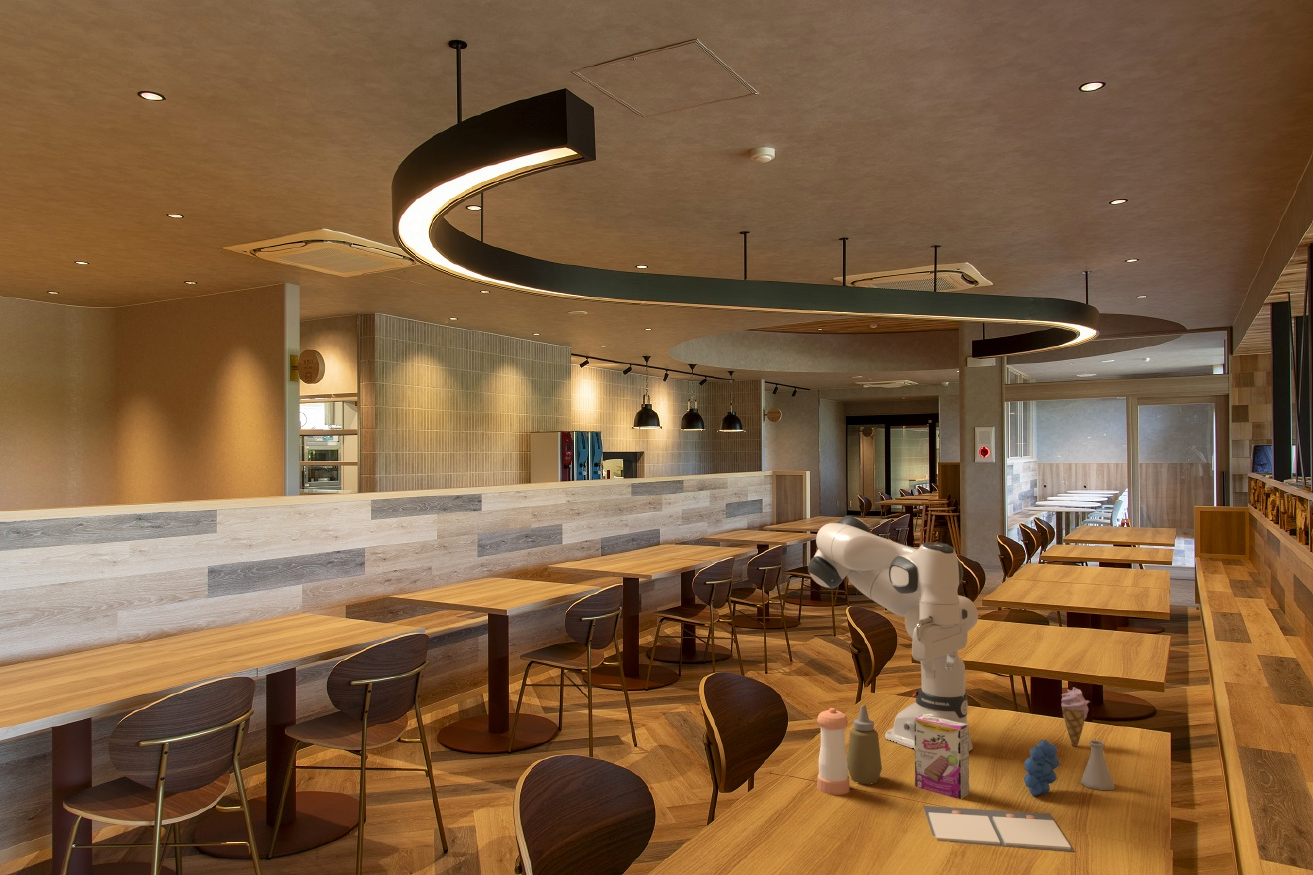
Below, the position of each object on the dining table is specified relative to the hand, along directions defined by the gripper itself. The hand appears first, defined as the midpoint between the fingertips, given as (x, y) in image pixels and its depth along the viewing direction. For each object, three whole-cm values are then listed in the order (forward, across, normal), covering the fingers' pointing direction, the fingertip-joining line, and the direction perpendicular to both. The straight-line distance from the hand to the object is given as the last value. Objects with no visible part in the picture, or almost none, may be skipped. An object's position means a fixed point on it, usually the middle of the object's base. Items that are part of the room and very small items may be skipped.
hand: (940, 674), depth 194 cm
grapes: (+27, +15, -16) cm, 35 cm away
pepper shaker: (+27, -17, +18) cm, 37 cm away
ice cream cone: (+27, +53, -11) cm, 61 cm away
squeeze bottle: (+27, -7, +16) cm, 32 cm away
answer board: (+27, -11, -17) cm, 34 cm away
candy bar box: (+27, 0, 0) cm, 27 cm away
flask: (+27, +29, -24) cm, 46 cm away
